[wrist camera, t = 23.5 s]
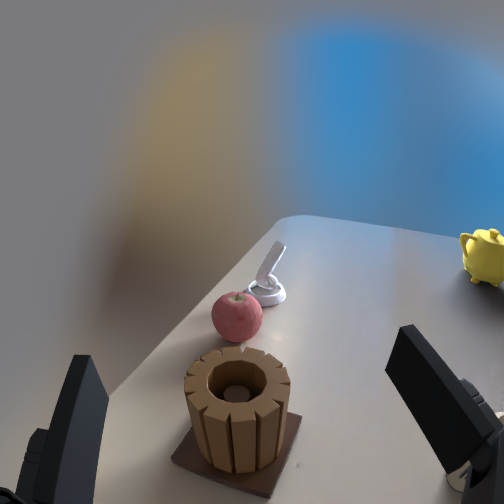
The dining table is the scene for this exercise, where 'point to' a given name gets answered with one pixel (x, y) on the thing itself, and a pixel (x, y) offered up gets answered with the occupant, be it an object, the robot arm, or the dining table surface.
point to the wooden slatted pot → (238, 407)
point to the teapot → (484, 256)
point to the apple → (237, 316)
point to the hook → (269, 278)
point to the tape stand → (249, 482)
